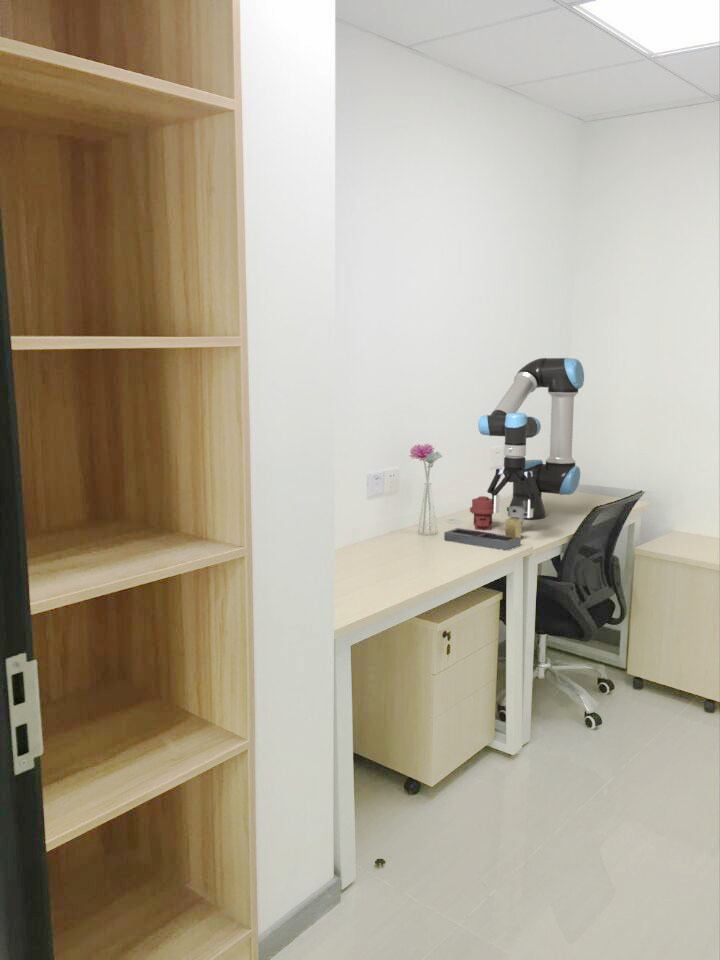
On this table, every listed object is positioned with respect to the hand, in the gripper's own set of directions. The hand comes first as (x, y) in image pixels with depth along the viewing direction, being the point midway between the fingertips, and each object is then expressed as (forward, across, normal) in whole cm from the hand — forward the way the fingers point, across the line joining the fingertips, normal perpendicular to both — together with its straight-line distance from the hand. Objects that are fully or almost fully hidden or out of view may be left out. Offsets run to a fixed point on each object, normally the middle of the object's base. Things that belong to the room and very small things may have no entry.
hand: (513, 515), depth 301 cm
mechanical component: (+10, -4, +14) cm, 17 cm away
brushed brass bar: (+10, 0, 0) cm, 10 cm away
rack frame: (+10, -7, -10) cm, 15 cm away
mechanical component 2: (+10, -19, +12) cm, 24 cm away
